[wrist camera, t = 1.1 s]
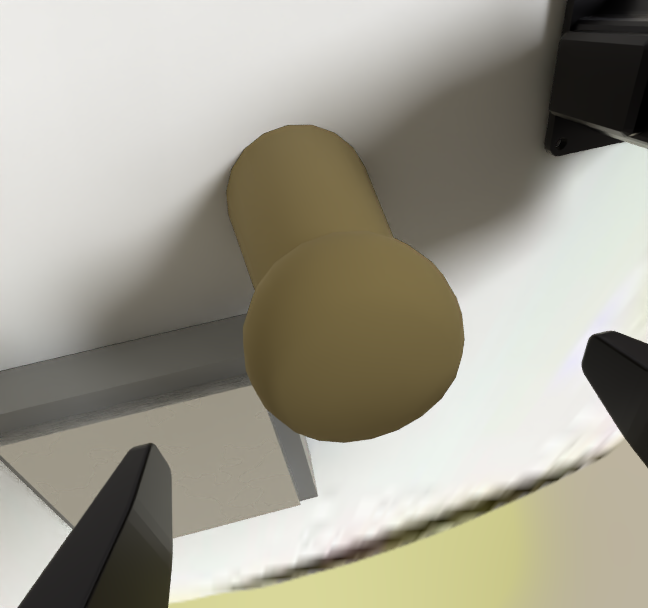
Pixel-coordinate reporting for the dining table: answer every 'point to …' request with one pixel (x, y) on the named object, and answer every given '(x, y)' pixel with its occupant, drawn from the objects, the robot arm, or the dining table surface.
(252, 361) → the cork
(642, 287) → the dining table surface
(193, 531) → the kitchen scale
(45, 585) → the robot arm
